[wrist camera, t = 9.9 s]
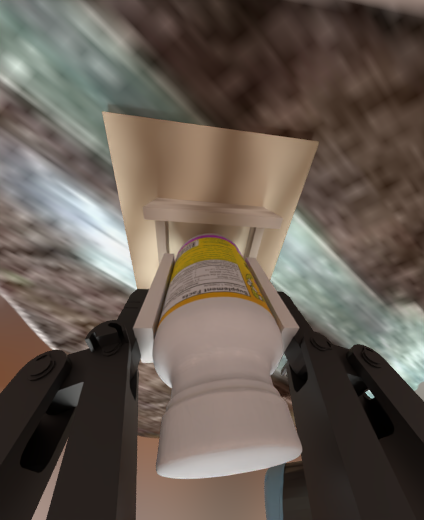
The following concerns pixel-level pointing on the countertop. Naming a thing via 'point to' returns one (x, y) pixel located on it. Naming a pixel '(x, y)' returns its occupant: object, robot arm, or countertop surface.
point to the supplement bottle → (219, 368)
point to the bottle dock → (203, 187)
